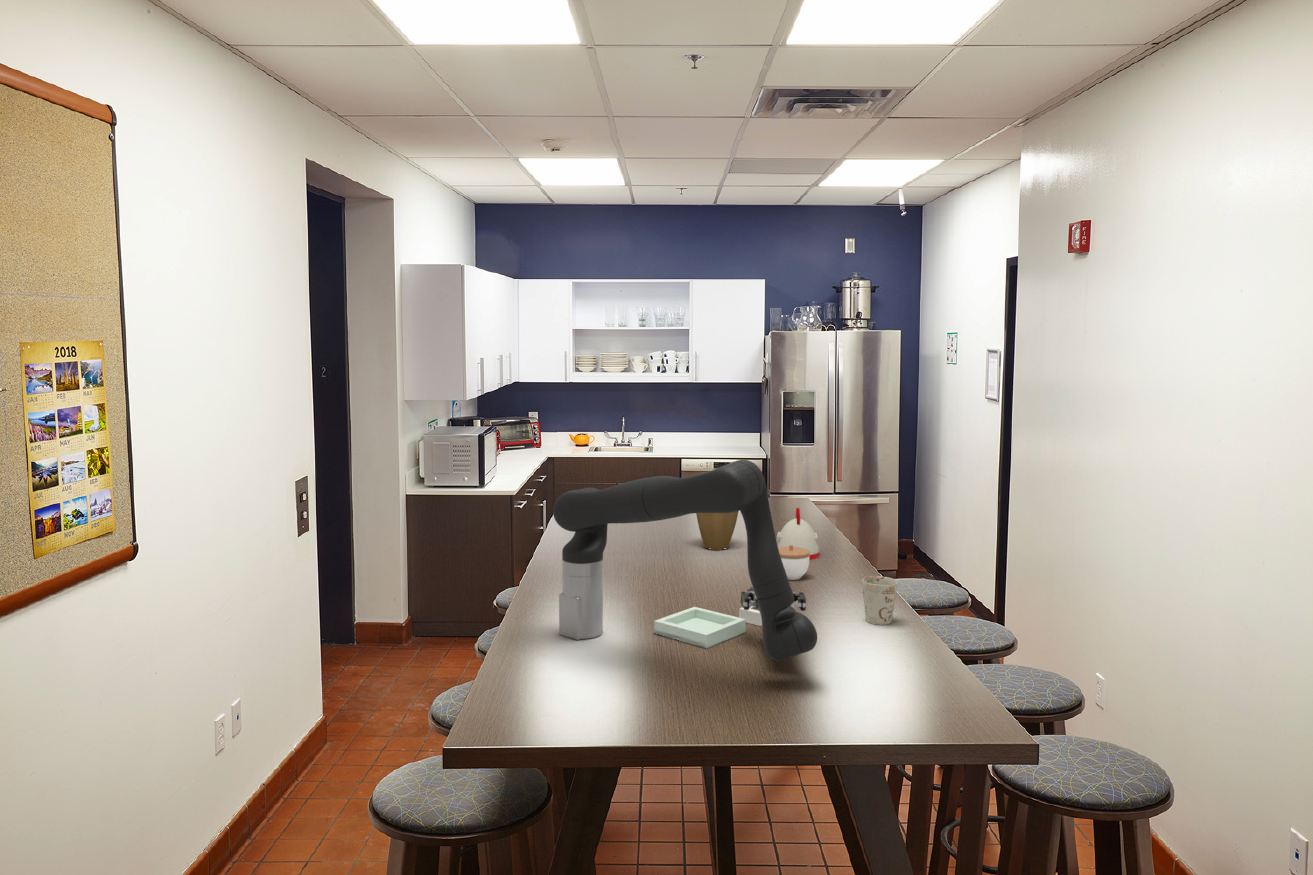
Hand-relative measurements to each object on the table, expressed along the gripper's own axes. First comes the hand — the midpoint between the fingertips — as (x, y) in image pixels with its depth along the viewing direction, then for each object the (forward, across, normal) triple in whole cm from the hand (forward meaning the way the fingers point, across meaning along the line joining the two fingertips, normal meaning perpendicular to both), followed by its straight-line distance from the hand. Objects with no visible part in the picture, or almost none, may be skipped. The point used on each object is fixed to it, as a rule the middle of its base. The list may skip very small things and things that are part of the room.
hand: (769, 591), depth 205 cm
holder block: (+7, 0, +9) cm, 11 cm away
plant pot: (+84, +7, +9) cm, 85 cm away
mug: (+9, -27, +9) cm, 30 cm away
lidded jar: (+48, -12, +9) cm, 50 cm away
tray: (-3, +16, +9) cm, 19 cm away
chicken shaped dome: (+75, -18, +9) cm, 78 cm away
